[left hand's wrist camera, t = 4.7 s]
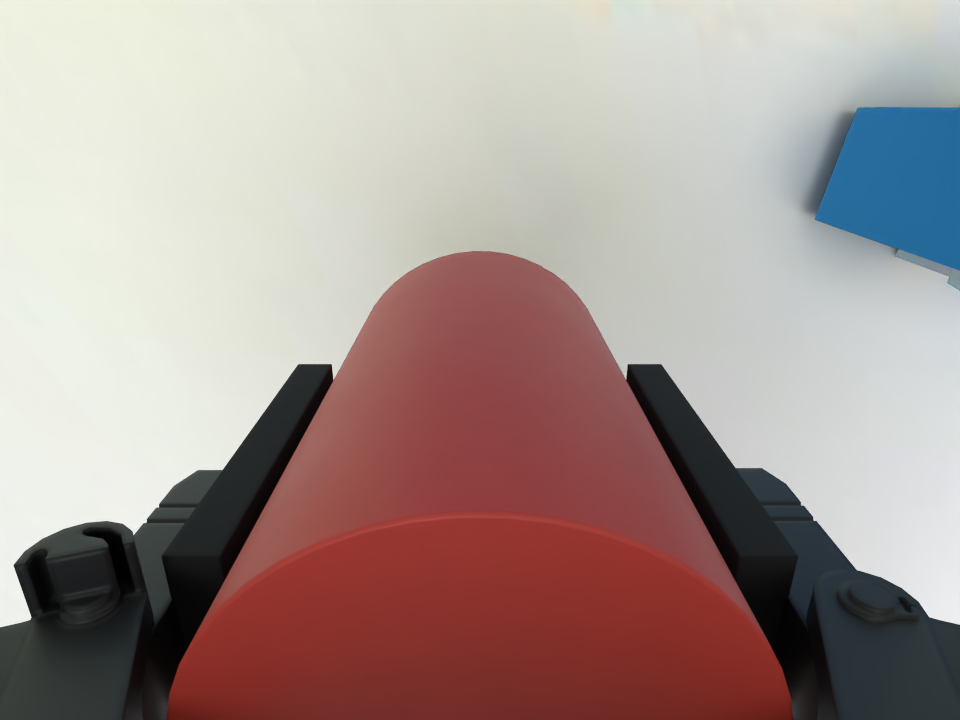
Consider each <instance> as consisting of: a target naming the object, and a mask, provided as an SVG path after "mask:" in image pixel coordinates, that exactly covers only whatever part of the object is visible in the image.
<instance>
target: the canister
mask: <svg viewBox="0 0 960 720" xmlns="http://www.w3.org/2000/svg"><path fill="white" fill-rule="evenodd" d="M166 720H793V713H792V703H791V697H790V693H789V690H788V686H787V683H786V680H785V676H784V673H783V670H782V667H781V665H780V664H779V662H778V660H777V658H776V656H775V654H774V652H773V650H772V648H771V646H770V644H769V642H768V640H767V638H766V637H765V635H764V633H763V631H762V629H761V627H760V626H759V624H758V622H757V620H756V618H755V616H754V614H753V613H752V611H751V609H750V607H749V605H748V603H747V602H746V600H745V598H744V596H743V594H742V592H741V591H740V589H739V587H738V585H737V583H736V581H735V580H734V578H733V576H732V574H731V572H730V570H729V569H728V567H727V565H726V563H725V561H724V559H723V557H722V556H721V554H720V552H719V550H718V548H717V546H716V545H715V543H714V541H713V539H712V537H711V535H710V534H709V532H708V530H707V528H706V526H705V524H704V523H703V521H702V519H701V517H700V515H699V513H698V512H697V510H696V508H695V506H694V504H693V502H692V500H691V499H690V497H689V495H688V493H687V491H686V489H685V488H684V486H683V484H682V482H681V480H680V478H679V477H678V475H677V473H676V471H675V469H674V467H673V466H672V464H671V462H670V460H669V458H668V456H667V454H666V453H665V451H664V449H663V447H662V445H661V443H660V442H659V440H658V438H657V436H656V434H655V432H654V431H653V429H652V427H651V425H650V423H649V421H648V420H647V418H646V416H645V414H644V412H643V410H642V409H641V407H640V405H639V403H638V401H637V399H636V397H635V396H634V394H633V392H632V390H631V388H630V386H629V385H628V383H627V381H626V379H625V377H624V375H623V374H622V372H621V370H620V368H619V366H618V364H617V363H616V361H615V359H614V357H613V355H612V353H611V351H610V350H609V348H608V346H607V344H606V342H605V340H604V339H603V337H602V335H601V333H600V331H599V329H598V328H597V326H596V324H595V322H594V320H593V318H592V317H591V315H590V313H589V311H588V309H587V308H586V306H585V305H584V304H583V302H582V301H581V299H580V298H579V297H578V295H577V294H576V293H575V292H574V291H573V290H572V289H571V288H570V287H569V286H568V285H567V284H566V283H565V282H563V281H562V280H561V279H560V278H558V277H557V276H556V275H555V274H553V273H552V272H550V271H548V270H546V269H545V268H543V267H541V266H540V265H538V264H535V263H533V262H530V261H528V260H526V259H523V258H520V257H516V256H512V255H509V254H504V253H496V252H482V251H472V252H463V253H455V254H451V255H447V256H444V257H440V258H437V259H434V260H432V261H429V262H427V263H424V264H422V265H420V266H419V267H417V268H415V269H413V270H411V271H410V272H408V273H407V274H405V275H404V276H403V277H401V278H400V279H399V280H397V281H396V282H395V283H394V284H393V285H392V286H391V287H390V288H389V289H388V290H387V291H386V292H385V293H384V294H383V295H382V296H381V298H380V299H379V300H378V302H377V303H376V304H375V306H374V307H373V309H372V311H371V313H370V315H369V316H368V318H367V320H366V322H365V324H364V326H363V327H362V329H361V331H360V333H359V335H358V337H357V338H356V340H355V342H354V344H353V346H352V348H351V349H350V351H349V353H348V355H347V357H346V359H345V360H344V362H343V364H342V366H341V368H340V370H339V371H338V373H337V375H336V377H335V379H334V381H333V382H332V384H331V386H330V388H329V390H328V392H327V394H326V395H325V397H324V399H323V401H322V403H321V405H320V406H319V408H318V410H317V412H316V414H315V416H314V417H313V419H312V421H311V423H310V425H309V427H308V428H307V430H306V432H305V434H304V436H303V438H302V439H301V441H300V443H299V445H298V447H297V449H296V450H295V452H294V454H293V456H292V458H291V460H290V462H289V463H288V465H287V467H286V469H285V471H284V473H283V474H282V476H281V478H280V480H279V482H278V484H277V485H276V487H275V489H274V491H273V493H272V495H271V496H270V498H269V500H268V502H267V504H266V506H265V507H264V509H263V511H262V513H261V515H260V517H259V518H258V520H257V522H256V524H255V526H254V528H253V530H252V531H251V533H250V535H249V537H248V539H247V541H246V542H245V544H244V546H243V548H242V550H241V552H240V553H239V555H238V557H237V559H236V561H235V563H234V564H233V566H232V568H231V570H230V572H229V574H228V575H227V577H226V579H225V581H224V583H223V585H222V586H221V588H220V590H219V592H218V594H217V596H216V598H215V599H214V601H213V603H212V605H211V607H210V609H209V610H208V612H207V614H206V616H205V618H204V620H203V621H202V623H201V625H200V627H199V629H198V631H197V632H196V634H195V636H194V638H193V640H192V642H191V643H190V645H189V647H188V649H187V651H186V653H185V654H184V656H183V658H182V660H181V662H180V664H179V666H178V669H177V672H176V675H175V678H174V681H173V684H172V687H171V690H170V694H169V701H168V709H167V716H166Z"/></svg>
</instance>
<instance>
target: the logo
mask: <svg viewBox="0 0 960 720" xmlns="http://www.w3.org/2000/svg"><path fill="white" fill-rule="evenodd" d="M815 220H817V221H820V222H823V223H826V224H829V225H831V226H834V227H837V228H840V229H843V230H846V231H848V232H851V233H854V234H857V235H860V236H863V237H865V238H868V239H871V240H874V241H877V242H880V243H883V244H885V245H888V246H891V247H894V248H897V249H898V251H897V253H896V255H895V256H896V257H898V258H901V259H904V260H906V261H909V262H912V263H915V264H917V265H920V266H923V267H925V268H928V269H931V270H933V271H936V272H939V273H941V274H944V275H947V276H949V277H950V278H949V280H948V282H947V283H949V284H950V285H952V286H953V287H955V288H957V289H958V290H960V108H891V107H860V108H857V110H856V113H855V116H854V118H853V121H852V123H851V126H850V129H849V131H848V134H847V136H846V139H845V141H844V144H843V147H842V149H841V152H840V154H839V157H838V160H837V162H836V165H835V167H834V170H833V173H832V175H831V178H830V180H829V183H828V185H827V188H826V191H825V193H824V196H823V198H822V201H821V204H820V206H819V209H818V211H817V214H816V216H815Z"/></svg>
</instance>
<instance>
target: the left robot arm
mask: <svg viewBox="0 0 960 720" xmlns="http://www.w3.org/2000/svg"><path fill="white" fill-rule="evenodd" d="M626 381H627V383H628V385H629V386H630V388H631V390H632V392H633V394H634V396H635V397H636V399H637V401H638V403H639V405H640V407H641V409H642V410H643V412H644V414H645V416H646V418H647V420H648V421H649V423H650V425H651V427H652V429H653V431H654V432H655V434H656V436H657V438H658V440H659V442H660V443H661V445H662V447H663V449H664V451H665V453H666V454H667V456H668V458H669V460H670V462H671V464H672V466H673V467H674V469H675V471H676V473H677V475H678V477H679V478H680V480H681V482H682V484H683V486H684V488H685V489H686V491H687V493H688V495H689V497H690V499H691V500H692V502H693V504H694V506H695V508H696V510H697V512H698V513H699V515H700V517H701V519H702V521H703V523H704V524H705V526H706V528H707V530H708V532H709V534H710V535H711V537H712V539H713V541H714V543H715V545H716V546H717V548H718V550H719V552H720V554H721V556H722V557H723V559H724V561H725V563H726V565H727V567H728V569H729V570H730V572H731V574H732V576H733V578H734V580H735V581H736V583H737V585H738V587H739V589H740V591H741V592H742V594H743V596H744V598H745V600H746V602H747V603H748V605H749V607H750V609H751V611H752V613H753V614H754V616H755V618H756V620H757V622H758V624H759V626H760V627H761V629H762V631H763V633H764V635H765V637H766V638H767V640H768V642H769V644H770V646H771V648H772V650H773V652H774V654H775V656H776V658H777V660H778V662H779V664H780V665H781V667H782V670H783V673H784V676H785V680H786V683H787V686H788V690H789V693H790V697H791V703H792V713H793V720H960V625H958V624H954V623H949V622H945V621H940V620H937V619H933V618H930V617H929V616H928V615H927V614H926V612H925V611H924V609H923V608H922V606H921V605H920V603H919V602H918V601H917V600H915V599H914V598H913V597H912V596H911V595H909V594H908V593H907V592H906V591H904V590H903V589H902V588H900V587H898V586H896V585H894V584H892V583H891V582H889V581H887V580H885V579H883V578H881V577H877V576H874V575H871V574H868V573H864V572H861V571H857V570H856V569H855V568H854V566H853V565H852V564H851V563H850V562H849V560H848V559H847V558H846V557H845V555H844V554H843V553H842V552H841V551H840V549H839V548H838V547H837V546H836V544H835V543H834V542H833V541H832V540H831V538H830V537H829V536H828V535H827V533H826V532H825V531H824V530H823V529H822V527H821V526H820V525H819V524H818V523H817V521H813V516H812V515H811V514H810V513H809V512H808V510H807V509H806V508H805V507H804V506H801V502H800V501H799V499H798V498H797V497H796V496H795V494H794V493H793V492H792V491H791V490H790V488H789V487H788V486H787V485H786V484H785V483H784V482H782V481H781V480H779V479H777V478H776V477H774V476H773V475H771V474H770V473H768V472H767V471H765V470H764V469H762V468H735V467H734V465H733V464H732V463H731V461H730V460H729V458H728V457H727V456H726V454H725V453H724V451H723V450H722V449H721V447H720V446H719V445H718V443H717V442H716V440H715V439H714V438H713V436H712V435H711V433H710V432H709V431H708V429H707V428H706V426H705V425H704V424H703V422H702V421H701V419H700V418H699V417H698V415H697V414H696V412H695V411H694V410H693V408H692V407H691V405H690V404H689V403H688V401H687V400H686V398H685V397H684V396H683V394H682V393H681V391H680V390H679V389H678V387H677V386H676V384H675V383H674V382H673V380H672V379H671V377H670V376H669V375H668V373H667V372H666V370H665V369H664V368H663V366H662V365H661V364H628V369H627V379H626ZM332 382H333V373H332V364H298V366H297V367H296V368H295V370H294V371H293V373H292V374H291V375H290V377H289V378H288V380H287V381H286V382H285V384H284V385H283V387H282V388H281V389H280V391H279V392H278V394H277V395H276V396H275V398H274V399H273V401H272V402H271V403H270V405H269V406H268V408H267V409H266V410H265V412H264V413H263V415H262V416H261V417H260V419H259V420H258V422H257V423H256V424H255V426H254V427H253V429H252V430H251V431H250V433H249V434H248V436H247V437H246V438H245V440H244V441H243V443H242V444H241V445H240V447H239V448H238V450H237V451H236V452H235V454H234V455H233V457H232V458H231V459H230V461H229V462H228V463H227V465H226V466H225V468H224V469H223V470H198V471H196V472H195V473H193V474H192V475H190V476H189V477H187V478H186V479H184V480H182V481H181V482H179V483H178V484H176V485H175V486H174V487H173V488H172V489H171V490H170V492H169V493H168V494H167V495H166V497H165V498H164V499H163V500H162V501H161V503H160V504H159V508H156V509H155V510H154V511H153V513H152V514H151V515H150V516H149V517H148V519H147V523H144V524H143V525H142V526H141V527H140V528H139V530H138V531H137V532H136V533H135V535H134V536H133V532H132V531H131V530H130V529H129V528H127V527H126V526H125V525H123V524H120V523H114V522H109V521H103V522H91V523H84V524H81V525H77V526H73V527H70V528H66V529H63V530H61V531H59V532H57V533H54V534H52V535H50V536H48V537H46V538H43V539H42V540H40V541H39V542H37V543H36V544H35V545H33V546H32V547H30V548H29V549H28V550H26V551H25V552H24V553H23V554H22V556H21V557H20V558H19V559H18V560H17V562H16V563H15V564H14V568H15V571H16V573H17V576H18V579H19V582H20V585H21V588H22V591H23V594H24V596H25V599H26V602H27V605H28V608H29V611H30V614H31V617H32V618H31V620H29V621H26V622H22V623H18V624H14V625H9V626H5V627H0V720H166V716H167V709H168V701H169V694H170V690H171V687H172V684H173V681H174V678H175V675H176V672H177V669H178V666H179V664H180V662H181V660H182V658H183V656H184V654H185V653H186V651H187V649H188V647H189V645H190V643H191V642H192V640H193V638H194V636H195V634H196V632H197V631H198V629H199V627H200V625H201V623H202V621H203V620H204V618H205V616H206V614H207V612H208V610H209V609H210V607H211V605H212V603H213V601H214V599H215V598H216V596H217V594H218V592H219V590H220V588H221V586H222V585H223V583H224V581H225V579H226V577H227V575H228V574H229V572H230V570H231V568H232V566H233V564H234V563H235V561H236V559H237V557H238V555H239V553H240V552H241V550H242V548H243V546H244V544H245V542H246V541H247V539H248V537H249V535H250V533H251V531H252V530H253V528H254V526H255V524H256V522H257V520H258V518H259V517H260V515H261V513H262V511H263V509H264V507H265V506H266V504H267V502H268V500H269V498H270V496H271V495H272V493H273V491H274V489H275V487H276V485H277V484H278V482H279V480H280V478H281V476H282V474H283V473H284V471H285V469H286V467H287V465H288V463H289V462H290V460H291V458H292V456H293V454H294V452H295V450H296V449H297V447H298V445H299V443H300V441H301V439H302V438H303V436H304V434H305V432H306V430H307V428H308V427H309V425H310V423H311V421H312V419H313V417H314V416H315V414H316V412H317V410H318V408H319V406H320V405H321V403H322V401H323V399H324V397H325V395H326V394H327V392H328V390H329V388H330V386H331V384H332Z"/></svg>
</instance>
